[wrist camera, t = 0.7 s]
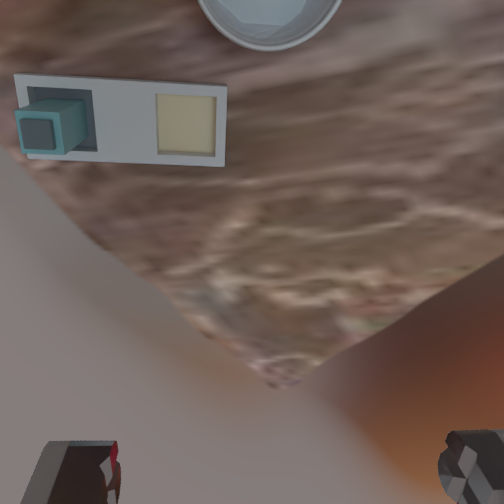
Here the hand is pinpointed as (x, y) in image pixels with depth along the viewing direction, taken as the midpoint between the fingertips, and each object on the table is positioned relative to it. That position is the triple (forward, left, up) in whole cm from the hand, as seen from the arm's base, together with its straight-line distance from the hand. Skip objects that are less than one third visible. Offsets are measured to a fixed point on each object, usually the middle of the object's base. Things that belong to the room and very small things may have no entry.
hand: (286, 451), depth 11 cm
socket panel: (-1, -11, -40) cm, 41 cm away
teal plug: (-1, -17, -40) cm, 43 cm away
